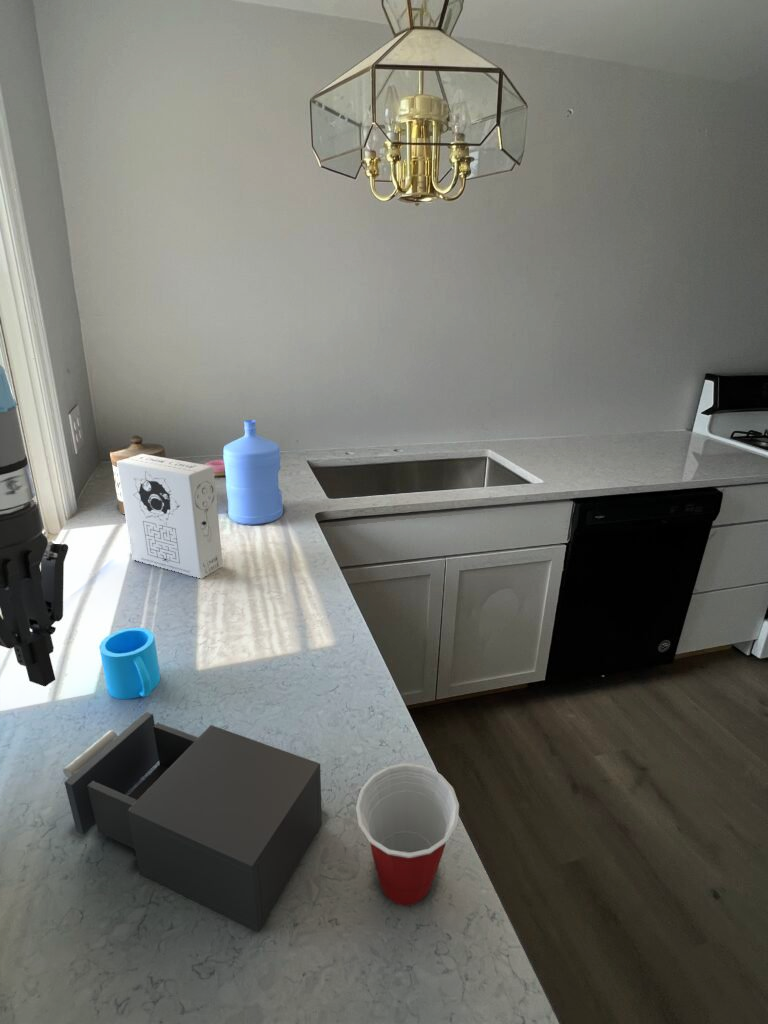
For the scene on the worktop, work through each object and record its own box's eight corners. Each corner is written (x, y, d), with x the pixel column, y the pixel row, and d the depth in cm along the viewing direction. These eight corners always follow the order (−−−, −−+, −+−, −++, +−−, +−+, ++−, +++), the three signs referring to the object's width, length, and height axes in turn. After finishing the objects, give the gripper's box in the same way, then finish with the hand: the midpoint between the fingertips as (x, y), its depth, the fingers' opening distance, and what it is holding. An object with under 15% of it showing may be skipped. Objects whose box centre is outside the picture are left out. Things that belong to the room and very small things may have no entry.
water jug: (257, 530, 153) (250, 430, 143) (217, 518, 161) (208, 422, 151) (294, 513, 166) (290, 420, 156) (255, 502, 173) (249, 413, 163)
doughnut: (214, 480, 192) (213, 468, 191) (197, 473, 199) (196, 461, 198) (241, 473, 200) (240, 462, 198) (224, 467, 207) (223, 456, 205)
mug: (101, 680, 93) (92, 639, 90) (150, 661, 98) (144, 622, 95) (124, 719, 85) (116, 676, 82) (176, 697, 90) (170, 654, 87)
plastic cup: (335, 879, 63) (334, 801, 58) (402, 821, 70) (405, 747, 65) (405, 957, 55) (410, 874, 51) (471, 883, 63) (480, 804, 58)
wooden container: (112, 506, 167) (100, 435, 159) (161, 496, 177) (152, 428, 169) (130, 521, 157) (118, 445, 149) (180, 509, 167) (172, 437, 159)
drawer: (50, 819, 68) (37, 770, 65) (130, 747, 79) (121, 702, 76) (173, 878, 61) (164, 827, 58) (241, 791, 72) (237, 744, 69)
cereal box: (223, 566, 133) (214, 465, 124) (201, 579, 126) (189, 475, 117) (155, 548, 141) (142, 453, 132) (131, 560, 135) (115, 461, 126)
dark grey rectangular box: (139, 874, 63) (126, 810, 59) (217, 782, 75) (210, 724, 71) (258, 932, 57) (252, 866, 54) (322, 823, 69) (320, 763, 66)
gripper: (-42, 532, 54) (14, 723, 63) (73, 492, 66) (106, 658, 74) (-90, 520, 57) (-31, 705, 66) (28, 483, 68) (66, 645, 77)
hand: (42, 680), depth 70 cm, fingers closed
